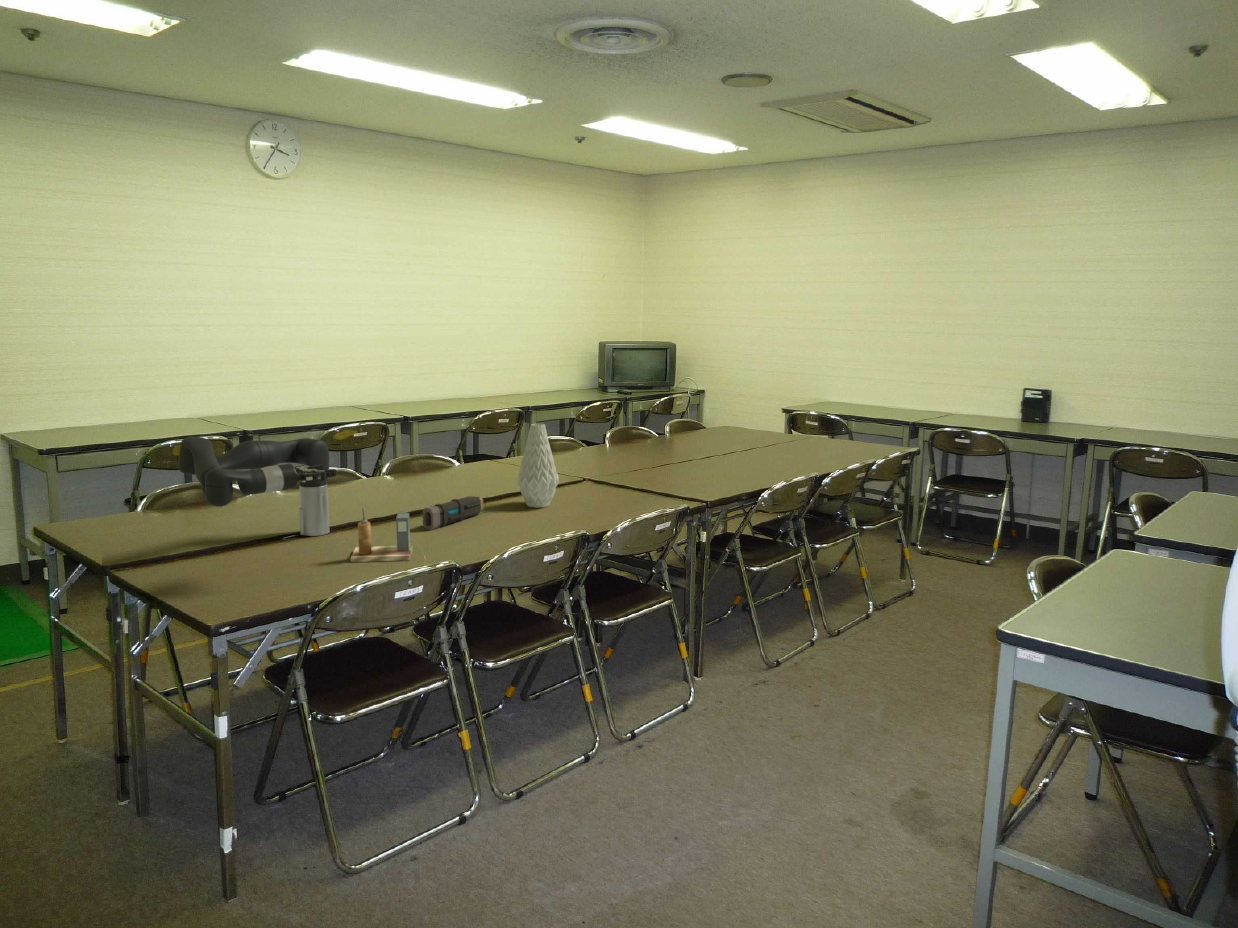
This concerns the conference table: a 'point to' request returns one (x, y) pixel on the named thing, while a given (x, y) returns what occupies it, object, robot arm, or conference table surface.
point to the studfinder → (403, 531)
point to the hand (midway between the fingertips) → (328, 470)
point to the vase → (537, 469)
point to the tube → (451, 512)
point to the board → (382, 554)
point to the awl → (364, 536)
